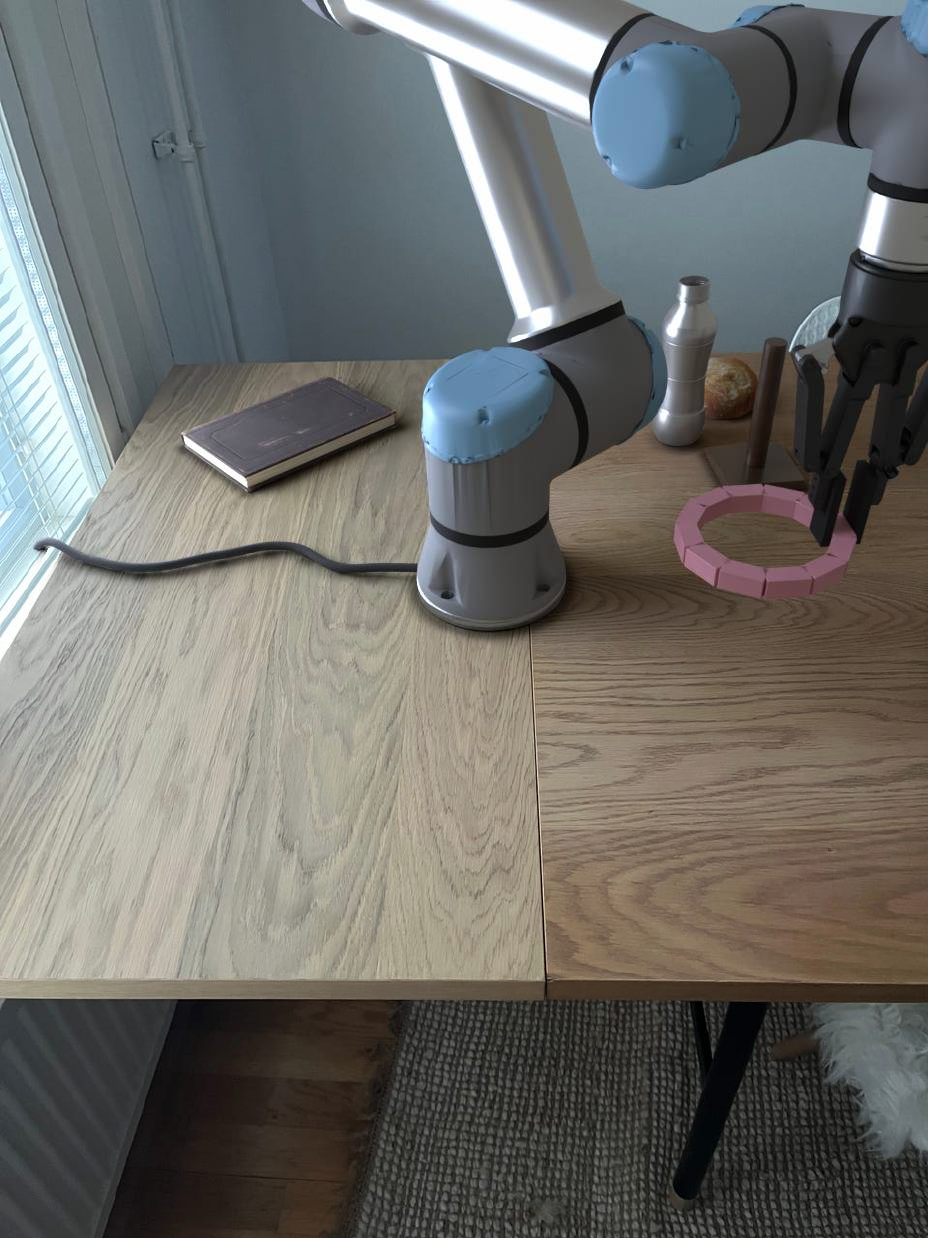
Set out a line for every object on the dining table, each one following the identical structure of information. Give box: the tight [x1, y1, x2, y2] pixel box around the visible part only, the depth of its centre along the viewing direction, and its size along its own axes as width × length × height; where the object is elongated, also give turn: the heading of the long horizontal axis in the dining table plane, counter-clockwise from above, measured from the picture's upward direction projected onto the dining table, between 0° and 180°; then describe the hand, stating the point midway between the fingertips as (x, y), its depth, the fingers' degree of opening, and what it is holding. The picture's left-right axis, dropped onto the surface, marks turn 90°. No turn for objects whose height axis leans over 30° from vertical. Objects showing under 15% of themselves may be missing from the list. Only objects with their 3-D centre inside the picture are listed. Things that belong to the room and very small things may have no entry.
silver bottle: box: [651, 274, 718, 447], centre depth 113 cm, size 6×7×20 cm
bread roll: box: [704, 356, 758, 420], centre depth 125 cm, size 10×10×8 cm
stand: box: [705, 336, 806, 491], centre depth 108 cm, size 9×9×16 cm
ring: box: [673, 484, 857, 600], centre depth 79 cm, size 14×14×2 cm
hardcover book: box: [180, 375, 399, 493], centre depth 123 cm, size 16×23×2 cm
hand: (834, 536), depth 80 cm, fingers closed on ring, 2 cm apart
